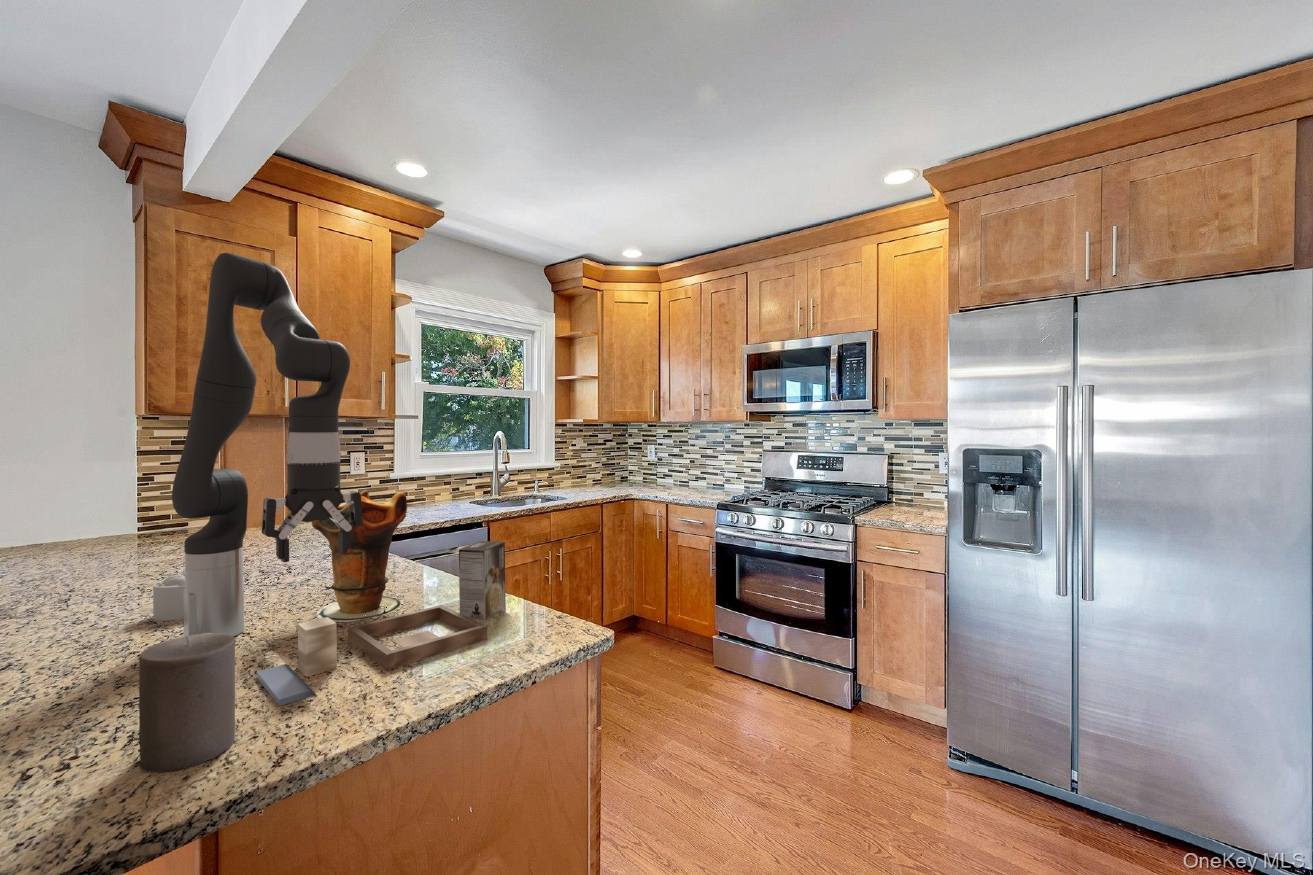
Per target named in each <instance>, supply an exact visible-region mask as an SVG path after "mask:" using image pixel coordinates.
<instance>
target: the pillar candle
mask: <svg viewBox="0 0 1313 875" xmlns="http://www.w3.org/2000/svg"><path fill="white" fill-rule="evenodd" d="M138 658H139V661H138V662H139V663H138V676H139V679H138V698H139V699H138V711H139V719H138V720H139V721H138V722H139V725H138V727H139V730H138V731H139V735H138V738H139V740H138V745H139V761H138V766H139V768H140V769H141V770H142V771H144V772H147V773H165V772H167V773H168V772H173V771H178V770H182V769H186V768H187V769H188V768H191V767H195V766H197V765H200V764H202V763H205V762H207V761H209V760H212V759H213V758H215V757H217V756H219V755H221V754H222V753H224V752H225V751H226V750H229V748H230V747H231V746H232V745H233V743H234V742H235V740H236V739H235V738H236V737H235V735H236V730H235V729H236V636H232V635H228V634H221V633H203V634H196V635H190V636H184V635H183V636H181V637H175V638H171V639H167V640H164V641H161V642H158V643H156V644H153V645H151V646H149V647H147V648H145V649H144V650H142V651H141V652H140V654H139V657H138Z"/></svg>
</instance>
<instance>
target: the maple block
mask: <svg viewBox="0 0 1313 875" xmlns="http://www.w3.org/2000/svg"><path fill="white" fill-rule="evenodd" d="M337 645H338V644H337V622H334V621H333V620H331V619H330V618H328V617H325V618H321V619H318V618H317V619H312V620H309V621H307V620H306V621H302V622H299V623H297V653H298V654H297V656H298V657H297V659H298V660H297V661H298V662H297V664H298V667H297V668H298V670H299V671H301V673H302V674H303V675H305V677H310V676H314V675H317V674H320V673H324V672H327V671H330V670H331V671H332V670H334V669H335V670H336V669H338V660H337V659H338V651H337V650H338V649H337V648H338V646H337Z"/></svg>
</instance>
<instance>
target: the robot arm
mask: <svg viewBox="0 0 1313 875" xmlns="http://www.w3.org/2000/svg"><path fill="white" fill-rule="evenodd" d="M235 306H238V307H244V308H248V309H251V310H256V311H262V313H261V316H260V326H261V329H262V331H263V334H264V335H265V337H266V338H267V339H268V340H269V341H270V343H271V344H272V345H273V347H274V353H275V354H274V355H275V358H274V360H275V367H276V370H277V372H278V373H279V374H281V376H283V377H284V378H287V379H288V380H292V381H297V382H298V381H299V382H300V381H301V382H315V383H316V382H319V383H320V386H319V388H318V390H316V391H315V393H313V394H307V395H301V396H296V397H294V398H291V399H290V401H289V404H288V440H287V445H286V446H287V447H286V450H287V451H286V452H287V453H286V460H287V461H286V462H287V463H286V464H287V466H286V470H287V472H286V473H287V476H286V478H287V481H286V482H287V486H286V488H287V490H286V491H287V492H286V496H285V497H279V498H278V497H277V498H272V497H265V498H264V499H263V505H262V518H261V519H262V520H261V522H262V523H261V534H262V535H264V536H265V537H268V538H274V539H275V551H276V552H275V554H276V558H277V559H279V560H280V561H281V562H282V563H289V562H290V539H289V538H288V536H289V535H290V534H291V533H292V532H293V531H294V529H296V527H298V526H299V524H300V523H301V522H304V523H312V521H315V520H320V521H324V520H327V519H329V518H330V519H331V520H332V521H333V522H334V523H335V524H336V525H337V526H338V527H339V528H340V531H338V550H339V553H341V554H344V553H347V550H348V549H350V547H351V530H352V529H353V528H355V527H358V526H361V525H362V524H363V518H362V503H361V494H360V492H358V491H355V490H351V491H350V492H346V493H342V492H341V457H342V453H341V444H340V436H339V408H340V403H341V399H342V394H343V392H344V391H343V390H344V387H345V384H346V381H347V378H348V376H349V372H350V368H351V356H350V354H349V351H348V349H347V348H346V347H345V345H343V344H342V343H341V342H338V341H335V340H326V339H321V338H320V334H319V332H318V330H317V329H316V327H315V326H314V325H313V324H312V322H311V321H310V320H309V319H308V318H307V317H306V316H305V314H303V312H302V311H301V309H300V308H299V305H298V304H297V301H296V298H295V296H294V294H293V292H292V290H291V287H290V285H289V282H288V280H287V278H286V276H285V275H284V273H283V272H282V271H281V270H280V269H279V268H278V267H276V266H274V265H272V264H270V263H266V262H263V261H259V260H256V259H252V258H249V257H246V256H242V255H238V254H234V253H231V252H221V253H220V254H218V256H217V257H216V258H215V260H214V262H213V265H212V268H211V273H210V278H209V289H208V300H207V311H206V312H207V314H206V326H205V333H204V338H203V345H202V351H201V355H200V360H199V365H198V370H197V373H196V378H195V379H196V380H195V385H194V391H193V398H192V407H191V414H190V418H189V423H188V430H187V434H186V438H185V442H184V446H183V448H182V449H183V450H182V452H181V456H180V460H179V462H178V465H177V468H176V472H175V476H174V480H173V483H172V490H171V501H172V506H173V509H174V511H175V512H176V514H177V515H178V516H179V517H181V518H183V519H190V520H191V519H201V518H208V517H209V520H208V521H207V523H206V524H205V525H204V526H203V527H202V528H201V529H199V530H198V531H196V532H194V533H192V534H191V535H189V536H188V537H186V538H185V540H184V544H183V546H184V572H185V589H184V591H183V601H184V619H183V637H184V636H190V635H196V634H203V633H221V634H228V635H232V636H233V637H236V636H237V635H240V634H242V633H243V632H244V630H245V596H244V594H245V593H244V592H245V591H244V538H245V535H246V532H247V528H248V506H249V492H248V491H249V489H248V488H249V487H248V484H247V481H246V479H245V477H244V475H243V474H242V473H241V472H240V471H239V470H237V469H235V468H217V469H215V465H216V461H217V458H218V457H219V456H218V455H219V453H220V451H221V449H222V447H224V445H225V443H226V442H227V441H228V440H229V438H230V437H231V436H232V435H233V434H234V433H235V431H237V429H239V427H240V426H242V425H241V424H242V423H243V422H244V421H245V420H246V419H247V417H248V415H249V414H250V412H251V409H252V407H253V404H254V403H253V402H254V398H255V392H256V387H257V374H256V371H255V368H254V366H253V364H252V362H251V360H250V358H249V356H248V354H247V352H246V351H245V349H244V347H243V345H242V344H241V341H240V338H239V336H238V333H237V330H236V327H235V326H236V325H235V322H234V320H235V318H234V309H235ZM343 501H344V503H346V504H348V505H349V507H350V520H349V521H346V520H345V518H344V517H343V516H342V514H341V513H340V512H339V511H338V510H337V508H338V507H339V505H340V504H343V503H342V502H343ZM283 506H284V507H286V508H287V509H288V511H289V513H288V515H287V516H286V517H285V518H284V519H283V522H282V523H281V524H280V525H279V527H278V528H277V529H276V516H277V515H276V514H277V512H280V510H282V507H283Z"/></svg>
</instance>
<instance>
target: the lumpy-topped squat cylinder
mask: <svg viewBox="0 0 1313 875" xmlns="http://www.w3.org/2000/svg"><path fill="white" fill-rule="evenodd" d="M184 589H185V571H184V572H182V573H181V574H172V575H170V576H168V577H166V578H165V579H164V580H163V581H161V582H158V583H155V584H154V585H153V586H152V610H153V611H152V612H153V620H155V621H177V620H184V601H183V591H184Z"/></svg>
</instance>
